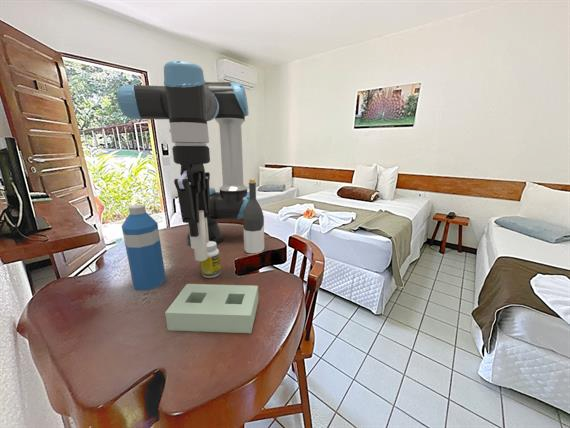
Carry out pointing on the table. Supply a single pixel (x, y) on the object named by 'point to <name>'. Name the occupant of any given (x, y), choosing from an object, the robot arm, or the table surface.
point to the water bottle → (143, 249)
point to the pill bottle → (211, 261)
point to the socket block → (213, 308)
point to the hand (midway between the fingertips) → (200, 245)
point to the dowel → (202, 253)
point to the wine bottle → (253, 223)
